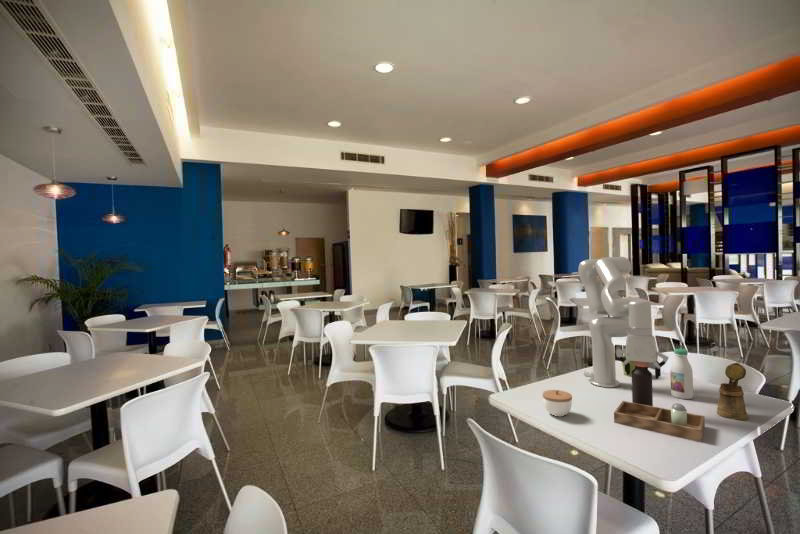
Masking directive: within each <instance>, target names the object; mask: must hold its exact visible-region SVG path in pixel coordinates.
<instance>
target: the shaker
mask: <svg viewBox="0 0 800 534" xmlns="http://www.w3.org/2000/svg"><path fill="white" fill-rule="evenodd" d="M670 410H671V423H672V424H676V425H681V426H686V427H687V413H688V410H687V409H686V406H684V405H683V404H681V403H680V402H679V403H678V402H677V403H673V404H672V406H671V407H670Z"/></svg>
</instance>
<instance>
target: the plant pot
mask: <svg viewBox="0 0 800 534" xmlns="http://www.w3.org/2000/svg"><path fill="white" fill-rule="evenodd" d="M622 356H623V357H624V358H625V359H626V355H622ZM629 364H630V374H629V375H627V372H625V364H624V363H623V362H622V361H621V366H622V370H623V375H624V376H625V375H626V377H631V378H632V371H633V370H634V369H635V366H634V361H629Z"/></svg>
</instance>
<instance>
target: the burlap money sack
mask: <svg viewBox="0 0 800 534" xmlns="http://www.w3.org/2000/svg"><path fill="white" fill-rule="evenodd" d="M746 375H747V370H746V368H745V367H744V366H743V365H741V364H740V363H738V362H735V363H730V364H729V365H727V366H726V368H725V376H726V377H727V378H728V379H729V380H728V383H726V382H725V383H723V382H722V383H721V384H720V387H719V388H718V389H719V390H718V392H719V395H718V396H719V397H718V403H717V407H716V413H717V415H719V416H721V417H722V418H726V419H730V420H734V421H735V420H736V421H746V420H748V419H749V414H748V412H747V409H746V404H745V399H744V397H745V396H744V390H743V388H742V386H740V385H738V384H739V381H740V380H742V379H744V378H745V377H746Z"/></svg>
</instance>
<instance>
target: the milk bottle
mask: <svg viewBox="0 0 800 534" xmlns="http://www.w3.org/2000/svg"><path fill="white" fill-rule="evenodd" d="M673 355H674V358H673V361H672V362H671V364H670V369H669V370H670V371H669V372H670V373H669V374H670V375H669V376H670V377H669V378H670V395H671V396H672V397H674V398H676V399H681V400H692V399H693V398H694V376H693V375H694V373H693V367H692V365H691V363H690V362H689V359H688V350H687V349H684V348H674V350H673Z"/></svg>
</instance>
